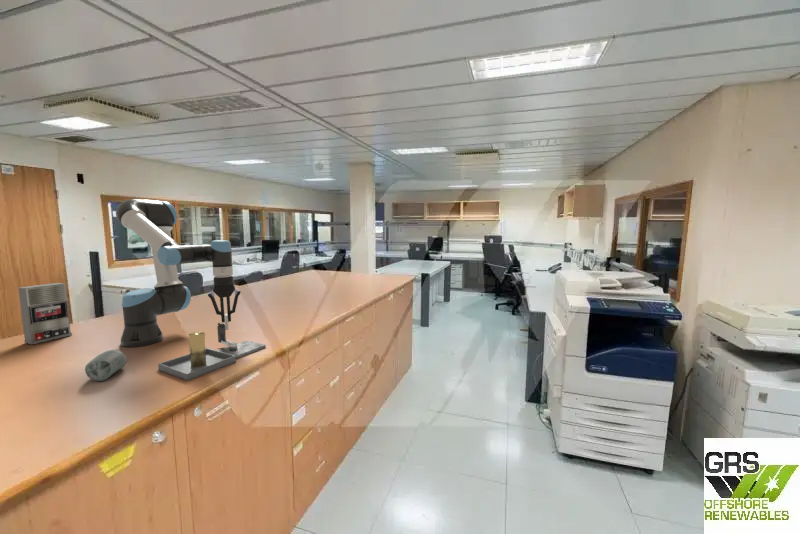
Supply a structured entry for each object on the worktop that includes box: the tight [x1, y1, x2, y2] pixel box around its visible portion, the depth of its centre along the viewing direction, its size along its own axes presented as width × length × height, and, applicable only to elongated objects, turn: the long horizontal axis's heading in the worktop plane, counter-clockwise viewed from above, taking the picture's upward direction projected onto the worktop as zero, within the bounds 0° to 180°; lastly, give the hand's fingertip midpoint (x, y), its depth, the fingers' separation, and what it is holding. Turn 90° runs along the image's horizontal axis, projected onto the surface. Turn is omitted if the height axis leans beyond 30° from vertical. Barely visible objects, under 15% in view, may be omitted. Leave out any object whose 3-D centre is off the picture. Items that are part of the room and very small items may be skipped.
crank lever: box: [216, 322, 237, 350], centre depth 144 cm, size 13×3×9 cm, turn 54°
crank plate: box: [217, 339, 267, 360], centre depth 142 cm, size 12×16×1 cm
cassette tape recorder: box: [18, 282, 73, 345], centre depth 152 cm, size 14×6×25 cm, turn 160°
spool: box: [84, 349, 127, 382], centre depth 118 cm, size 14×10×10 cm
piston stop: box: [188, 331, 206, 367], centre depth 126 cm, size 5×5×12 cm
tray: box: [157, 347, 237, 382], centre depth 126 cm, size 18×19×2 cm
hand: (226, 329), depth 148 cm, fingers closed
